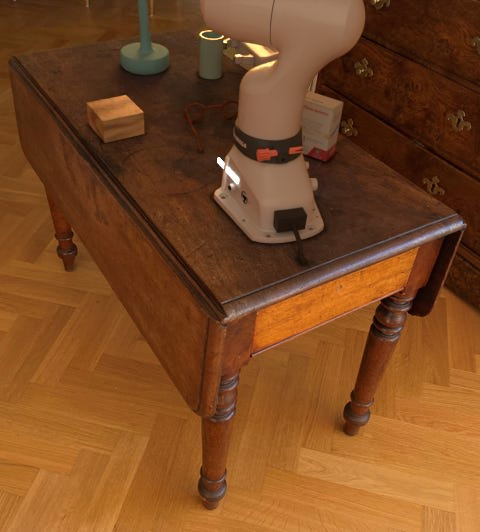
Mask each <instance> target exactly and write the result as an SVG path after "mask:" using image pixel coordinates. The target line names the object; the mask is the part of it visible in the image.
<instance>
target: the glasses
mask: <svg viewBox="0 0 480 532" xmlns="http://www.w3.org/2000/svg"><path fill="white" fill-rule="evenodd" d="M233 103H234V104H237V105H238V103H239V100H237V99H228V100H226V101H224V102H223V103H222V104H221V105H219V104H214V105H206V106H204V105H203V104H201V103H199V102H192V103H189V104H187V105H186V106H185V107H184V109H183V112H182V116H183V118H184V120H185V121H187V122H188V124H189V127H190V130H191V131H192V132H193V134H194V136H195V139H196V144H197V147H198V150H199V153H200V152H202V147H201V143H200V140H199V136H198V133H197V131H196V129H195V127H194V125H193V122H194V123H195V122H198V121H200V120H201V119H202V118H203V117H204V114H205V111H206V110H211V109H212V110H214V109H220V114H221V116H222V117H223V118H225V119H233V118H235V117H238V109H237V110H236V111H235V112H234V113H233V114H225V113H224V108H225V107H226V106H227V105H229V104H233ZM192 107H193V108H194V107H199V108H200V109H201V113H200V114H199V115H198V117H195V118H190V115H189V113H188V110H189V109H190V108H192Z"/></svg>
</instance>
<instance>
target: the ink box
mask: <svg viewBox="0 0 480 532" xmlns="http://www.w3.org/2000/svg"><path fill="white" fill-rule="evenodd" d="M343 108H344V101H341V100H338V99H335V98H331V97H329V96H326V95H322V94H319V93H316V92H313V91H310V90H308V92H307V95H306V99H305V103H304V108H303V113H302V119H301V126H302V135H303V141H302V142H303V152H302V154H303V155H306V156H307V157H308V156H309V157H311V158H313V159H316V160H319V161H322V162H327V161H328V160H329V159H331V157H333V155H334V154H335V153H336V146H337V142H338V136H339V129H340V124H341V119H342V113H343Z"/></svg>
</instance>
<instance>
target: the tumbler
mask: <svg viewBox="0 0 480 532" xmlns="http://www.w3.org/2000/svg"><path fill="white" fill-rule="evenodd" d="M198 35H199V37H198V38H199V39H198V41H199V42H198V45H199V46H198V75H199V77H200V78H202V79H205V80H218V79H220V78H222V77H223V67H224V66H223V65H224V49H223V47H224V40H225V36H222V35H220V34H218V33H216V32H213V31H211V30H204V31H201V32H200V33H199V34H198Z"/></svg>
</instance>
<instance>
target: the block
mask: <svg viewBox="0 0 480 532" xmlns="http://www.w3.org/2000/svg"><path fill="white" fill-rule="evenodd" d="M85 105H86V112H87V121H88V122H87V123H88V125H89V127H91V129H92V130H93V131H94V132H95V134H96V135H97V136H98V137H99V138H100V140H102V142H103V143H104V144H107V143H112V142H115V141H119V140H125V139H128V138H133V137H137V136H141V135H145V114H144V113H145V112H144V111H143V110H142V109H141V108H140V107H139V106H138V105H136V103H135V102H134V101H133V100H131V98H130V97H129V96H128V95H127V94H124V95H119V96H113V97H109V98H104V99H99V100H93V101H87V102H86V104H85Z"/></svg>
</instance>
